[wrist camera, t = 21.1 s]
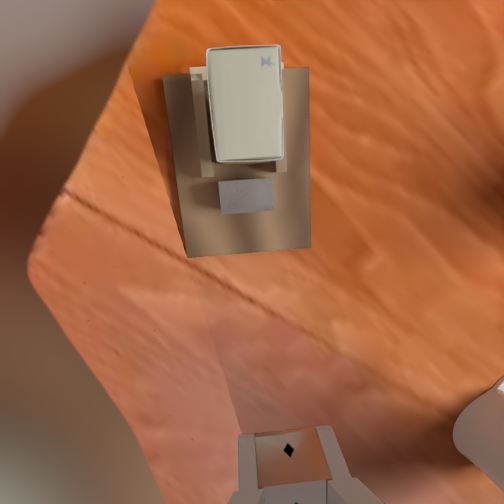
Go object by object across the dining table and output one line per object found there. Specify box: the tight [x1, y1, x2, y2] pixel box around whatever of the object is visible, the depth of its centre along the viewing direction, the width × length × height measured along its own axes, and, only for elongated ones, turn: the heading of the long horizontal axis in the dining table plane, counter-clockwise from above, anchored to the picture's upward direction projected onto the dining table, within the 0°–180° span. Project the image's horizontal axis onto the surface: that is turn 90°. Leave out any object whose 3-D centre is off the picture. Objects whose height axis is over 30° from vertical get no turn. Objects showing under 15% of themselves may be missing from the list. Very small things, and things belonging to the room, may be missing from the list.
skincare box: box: [206, 45, 284, 165], centre depth 22 cm, size 6×4×12 cm
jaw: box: [218, 178, 274, 215], centre depth 27 cm, size 5×3×4 cm, turn 94°
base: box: [162, 62, 311, 258], centre depth 28 cm, size 14×18×4 cm
